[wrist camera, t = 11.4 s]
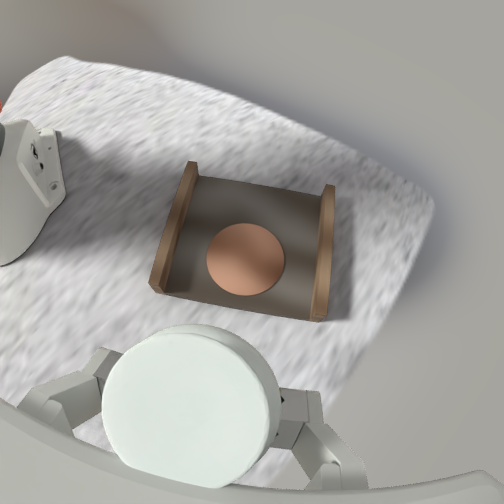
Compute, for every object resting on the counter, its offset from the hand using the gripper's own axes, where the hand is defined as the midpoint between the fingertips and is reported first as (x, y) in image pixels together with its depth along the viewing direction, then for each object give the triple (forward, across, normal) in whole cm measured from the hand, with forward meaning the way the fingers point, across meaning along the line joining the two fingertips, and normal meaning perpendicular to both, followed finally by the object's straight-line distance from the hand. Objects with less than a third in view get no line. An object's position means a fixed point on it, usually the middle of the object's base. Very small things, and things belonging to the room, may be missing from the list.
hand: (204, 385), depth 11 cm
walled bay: (+22, 0, +2) cm, 22 cm away
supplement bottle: (+3, 0, +4) cm, 5 cm away
